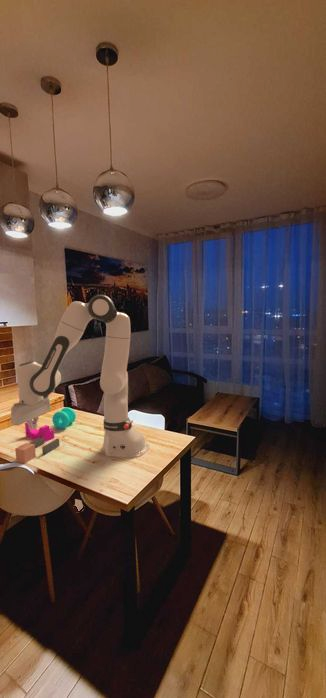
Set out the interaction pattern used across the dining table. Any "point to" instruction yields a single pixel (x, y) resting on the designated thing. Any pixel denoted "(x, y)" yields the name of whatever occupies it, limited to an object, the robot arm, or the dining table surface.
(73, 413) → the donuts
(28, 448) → the terracotta block
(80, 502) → the vase
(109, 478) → the dining table surface
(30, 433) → the toy block
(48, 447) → the guide channel
